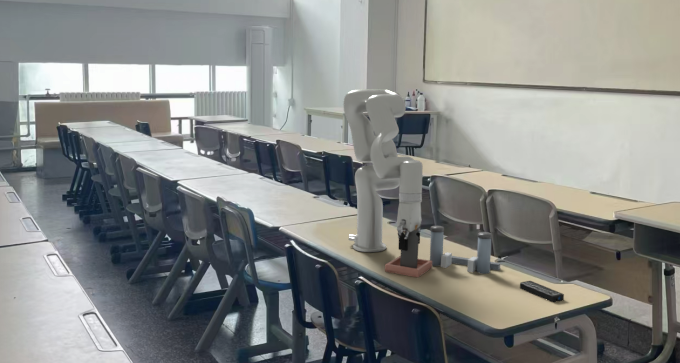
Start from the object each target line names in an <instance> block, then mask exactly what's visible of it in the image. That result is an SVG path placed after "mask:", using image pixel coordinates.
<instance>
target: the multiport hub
mask: <svg viewBox="0 0 680 363" xmlns="http://www.w3.org/2000/svg"><path fill="white" fill-rule="evenodd" d="M519 289H520V290H521V291H525V292H528V293H530V294H532V295H534V296H537V297H539V298H541V299H543V300H546V299H547V300H546V301H548V300H549V301H548V302H551V303H557V302H556V301H559V302H562V300H563V301H564V300H565V299H564V296H565V294H564V293H562V292H560V291H557V290H554V289H552V288H550V287H547V286H544V285H542V284H540V283H537V282H535V281H532V280H526V281H522V282H519Z"/></svg>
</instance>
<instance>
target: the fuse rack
mask: <svg viewBox="0 0 680 363" xmlns="http://www.w3.org/2000/svg"><path fill="white" fill-rule="evenodd" d="M444 231H445V227H444V226H441V225H432V226H430V244H429V245H430V246H429V247H430V248H429V249H430V250H429V260H430V261H432V267H433V266H435V267H439V266H440V268H444V269H445V268H446V269H447V268H448V267H450V266H451V265H452V264H455V265H463V266H467V267H466V268H467V269H466V270H467V272H469V273H474V272H475V271H476V273H478V274H490V273H491V270H493V271H500V270H501V263H500V262H493V261H491V254H492V236H493V234H492V233H491V232H488V231H480V232H478V233H477V251H476V252H477V253H476V256H471V257H470V258H468V257H463V256H455V255H453V254H452V252H448V251H447V252H445V253H444Z"/></svg>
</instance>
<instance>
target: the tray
mask: <svg viewBox="0 0 680 363" xmlns="http://www.w3.org/2000/svg"><path fill="white" fill-rule="evenodd" d="M400 257H401V255H399V256H397V257H396V258H394V259H392V260H390V261H389V262H387V263H385V264H384V272H386V273H389V274H390V273H391V274H396V275H397V274H398V275H403V276H409V277H413V278H419V277H421V276H422V275H424V274H425V273H427V272H428V271H429V270H431V269H432V268H433V265H432V261H430V259H424V258H423V259H422V258H418V263H417V268H416V269H415V268H409V267H403V266H400Z"/></svg>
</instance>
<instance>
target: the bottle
mask: <svg viewBox="0 0 680 363" xmlns="http://www.w3.org/2000/svg"><path fill="white" fill-rule="evenodd" d="M417 226H418V225H416V226H415V230H414V231H412V232H409V234H408V237H407V239H408V250H407V251H404V250H400V256H401V257H400V266H403V267H409V268H415V269H416V268H417V263H418V259H419V258H418V257H419V244H420V243H419V237H418V236H417V235H416V233H418V229H417ZM404 230H406V229H404ZM404 234H405V233H404Z"/></svg>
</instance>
